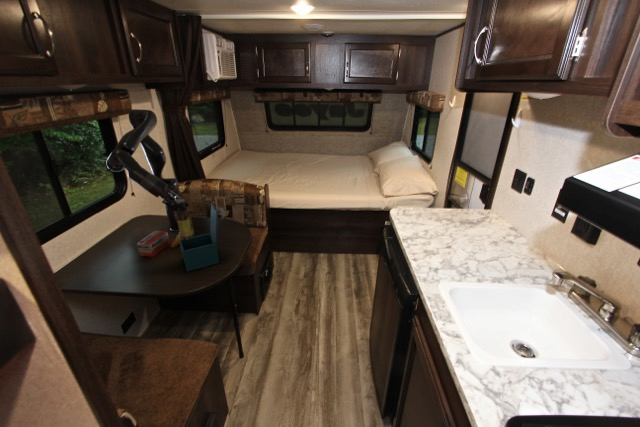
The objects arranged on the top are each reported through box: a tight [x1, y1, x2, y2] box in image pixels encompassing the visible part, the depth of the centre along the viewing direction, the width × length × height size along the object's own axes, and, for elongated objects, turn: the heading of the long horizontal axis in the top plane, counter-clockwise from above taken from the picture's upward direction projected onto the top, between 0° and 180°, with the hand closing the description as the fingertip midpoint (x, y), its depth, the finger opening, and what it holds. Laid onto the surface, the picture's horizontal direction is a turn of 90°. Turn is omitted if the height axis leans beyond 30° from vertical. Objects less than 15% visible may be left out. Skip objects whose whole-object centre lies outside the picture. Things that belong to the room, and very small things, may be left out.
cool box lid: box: [209, 203, 226, 244], centre depth 150 cm, size 17×13×5 cm
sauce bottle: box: [176, 199, 195, 240], centre depth 141 cm, size 6×6×20 cm
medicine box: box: [136, 230, 171, 258], centre depth 162 cm, size 15×8×8 cm, turn 172°
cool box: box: [179, 232, 220, 273], centre depth 151 cm, size 16×13×12 cm
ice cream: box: [170, 229, 195, 249], centre depth 168 cm, size 11×10×15 cm
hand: (186, 207), depth 139 cm, fingers closed on sauce bottle, 4 cm apart
